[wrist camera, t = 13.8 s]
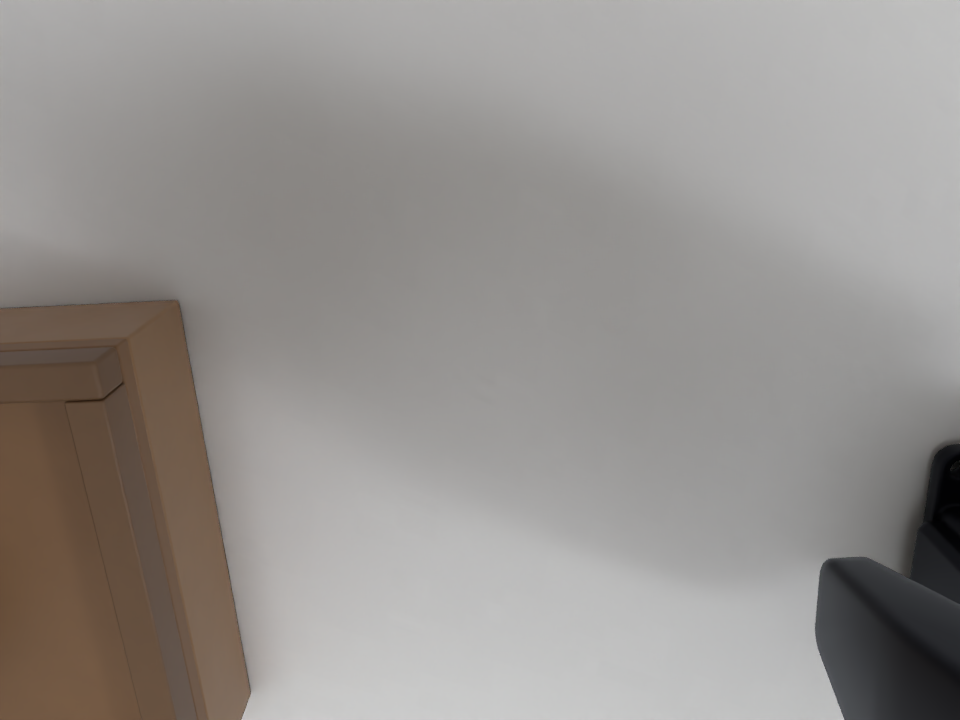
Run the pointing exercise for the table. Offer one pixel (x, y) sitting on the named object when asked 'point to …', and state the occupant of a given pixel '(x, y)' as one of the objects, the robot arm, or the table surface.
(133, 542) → the wooden tray
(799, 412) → the table surface
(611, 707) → the table surface
